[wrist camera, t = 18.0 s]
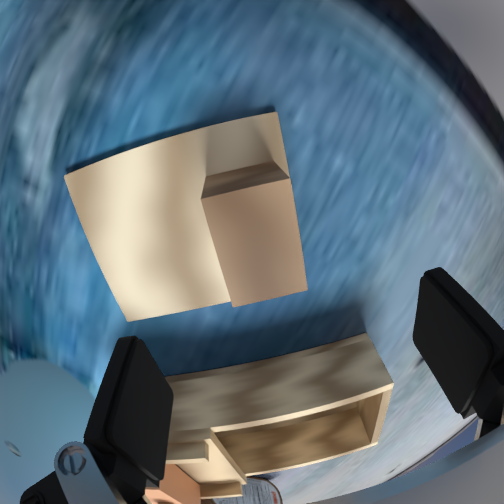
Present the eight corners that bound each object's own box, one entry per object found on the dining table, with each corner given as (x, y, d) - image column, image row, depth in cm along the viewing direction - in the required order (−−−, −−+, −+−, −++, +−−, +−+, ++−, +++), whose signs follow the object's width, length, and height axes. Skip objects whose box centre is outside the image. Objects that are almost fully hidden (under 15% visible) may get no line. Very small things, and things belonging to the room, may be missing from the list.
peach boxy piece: (162, 452, 19) (158, 503, 15) (200, 485, 23) (201, 524, 19) (130, 452, 19) (124, 500, 15) (173, 486, 23) (172, 523, 19)
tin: (194, 469, 36) (195, 517, 28) (205, 464, 35) (207, 514, 27) (269, 484, 41) (275, 523, 33) (281, 478, 40) (289, 519, 33)
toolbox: (366, 332, 25) (406, 407, 17) (360, 403, 30) (383, 462, 23) (129, 380, 25) (113, 457, 17) (177, 438, 30) (174, 499, 23)
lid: (274, 111, 17) (295, 113, 12) (303, 276, 22) (324, 324, 17) (70, 172, 17) (25, 197, 12) (130, 313, 22) (113, 364, 17)
